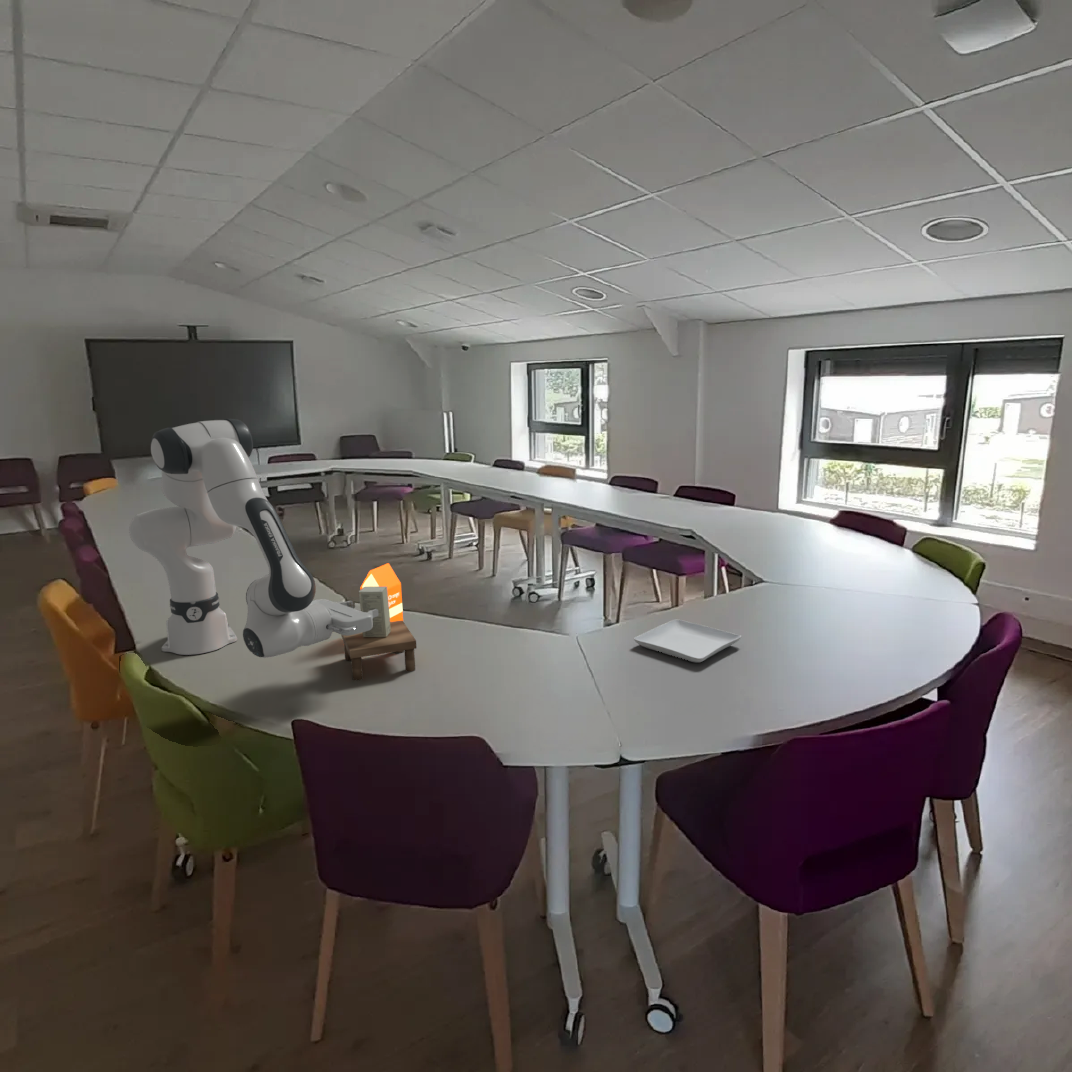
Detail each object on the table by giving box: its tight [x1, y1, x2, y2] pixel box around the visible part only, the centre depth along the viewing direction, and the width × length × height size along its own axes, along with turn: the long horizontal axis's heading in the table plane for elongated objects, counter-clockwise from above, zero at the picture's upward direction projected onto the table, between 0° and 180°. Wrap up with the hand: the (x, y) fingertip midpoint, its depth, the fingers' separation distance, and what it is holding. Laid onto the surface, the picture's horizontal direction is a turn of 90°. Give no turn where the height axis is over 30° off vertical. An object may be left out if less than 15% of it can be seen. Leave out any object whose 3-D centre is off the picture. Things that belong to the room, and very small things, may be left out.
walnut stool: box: [340, 620, 417, 682], centre depth 179 cm, size 16×16×8 cm
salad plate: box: [633, 618, 742, 663], centre depth 189 cm, size 21×21×3 cm
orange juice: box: [359, 562, 404, 622], centre depth 199 cm, size 8×9×20 cm
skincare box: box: [358, 586, 391, 637], centre depth 177 cm, size 6×4×12 cm
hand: (364, 607), depth 174 cm, fingers open, 8 cm apart
